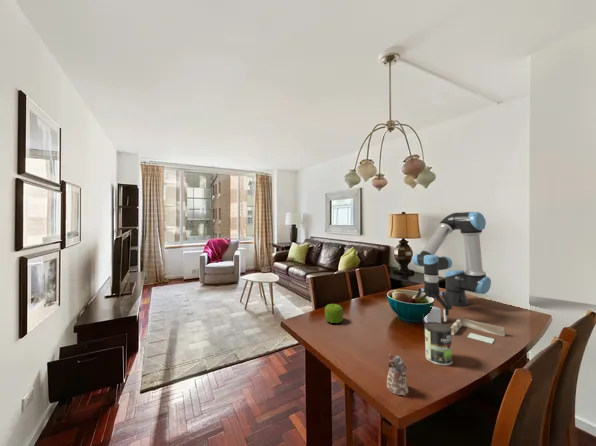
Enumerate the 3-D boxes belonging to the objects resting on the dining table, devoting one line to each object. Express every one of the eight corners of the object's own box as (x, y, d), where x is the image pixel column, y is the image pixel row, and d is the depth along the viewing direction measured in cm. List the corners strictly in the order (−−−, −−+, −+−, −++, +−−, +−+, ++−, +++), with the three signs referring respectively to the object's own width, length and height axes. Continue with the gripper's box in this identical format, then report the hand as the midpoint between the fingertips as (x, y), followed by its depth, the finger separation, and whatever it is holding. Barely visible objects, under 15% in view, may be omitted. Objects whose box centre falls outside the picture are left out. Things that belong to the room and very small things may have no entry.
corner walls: (459, 324, 141) (459, 317, 141) (504, 335, 126) (504, 327, 126) (450, 334, 129) (450, 326, 129) (499, 347, 115) (499, 339, 115)
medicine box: (437, 320, 147) (437, 306, 147) (441, 324, 142) (441, 309, 142) (424, 320, 148) (423, 306, 147) (427, 323, 143) (426, 309, 143)
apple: (347, 322, 148) (346, 304, 148) (333, 327, 142) (333, 308, 142) (334, 316, 158) (333, 299, 158) (321, 321, 152) (320, 303, 152)
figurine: (404, 399, 84) (403, 363, 84) (383, 390, 88) (382, 356, 88) (411, 388, 89) (410, 355, 89) (391, 380, 94) (390, 348, 94)
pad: (470, 333, 130) (470, 332, 130) (494, 339, 122) (494, 338, 122) (467, 337, 126) (467, 336, 126) (492, 343, 118) (492, 343, 118)
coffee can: (458, 361, 105) (457, 328, 104) (441, 368, 100) (440, 333, 100) (435, 350, 114) (435, 320, 114) (419, 355, 110) (419, 324, 110)
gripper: (407, 279, 151) (408, 314, 151) (453, 286, 133) (455, 325, 133) (412, 277, 156) (413, 310, 157) (457, 283, 138) (458, 321, 138)
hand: (432, 317), depth 145 cm, fingers open, 13 cm apart
